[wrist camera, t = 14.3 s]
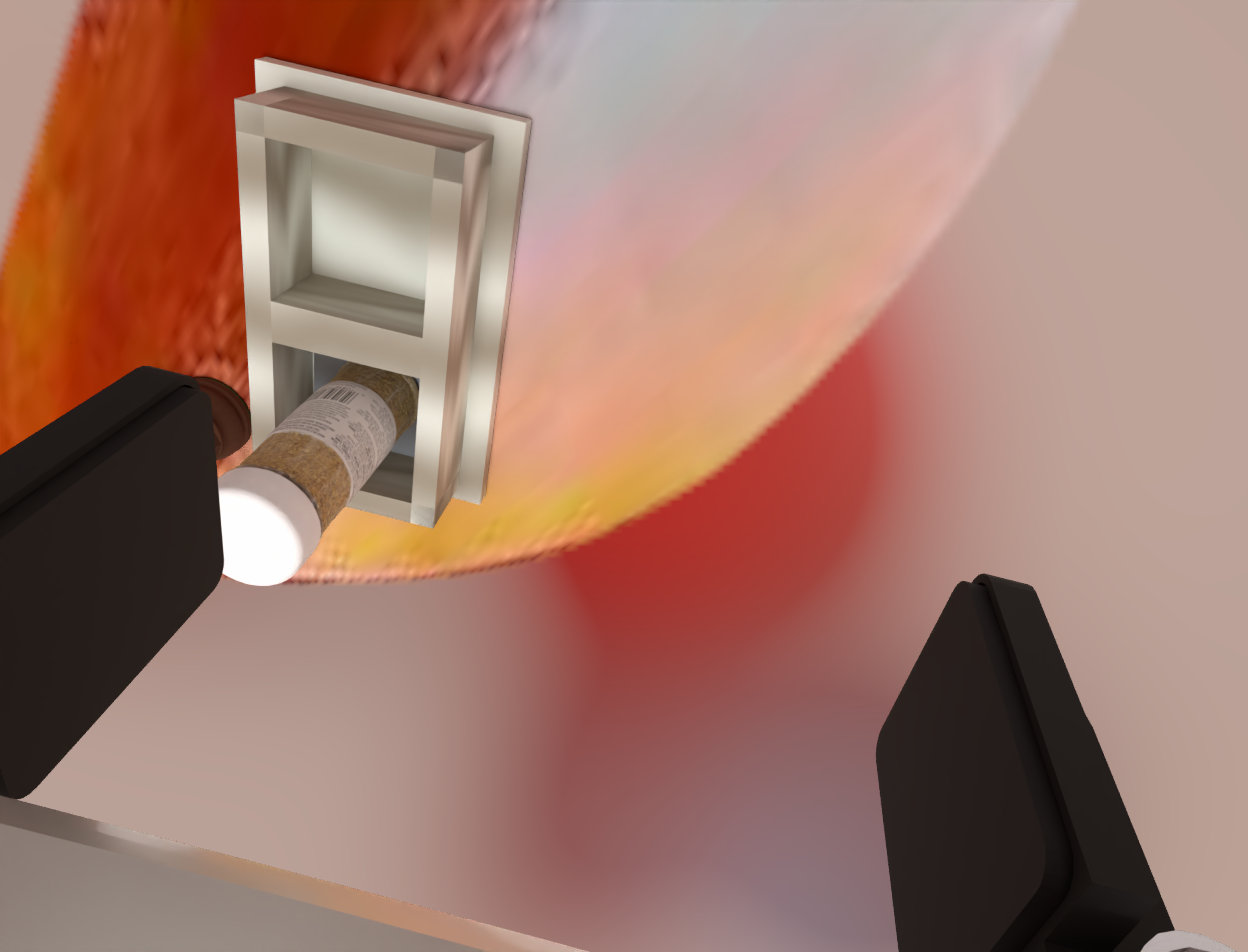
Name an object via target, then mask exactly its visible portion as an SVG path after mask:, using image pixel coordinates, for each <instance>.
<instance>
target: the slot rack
mask: <svg viewBox="0 0 1248 952" xmlns="http://www.w3.org/2000/svg"><path fill="white" fill-rule="evenodd" d="M255 79H256V93H255V94H251V95H247V96H244V97H240V98H236V99H234V103H235V122H236V141H237V160H238V178H239V197H240V216H241V235H242V254H243V273H244V292H245V311H246V330H247V349H248V368H249V387H250V406H251V425H252V444H253V452H254V451H255V450H256V449H257V448H258V447H259V446H260V444H261V442H262V441H263V440H264V439H265V438H266V437H267V436H268V435H269V434H270V433H271V432H272V431H273V430H274V429H275V428H277V427H278V426H279V425H280V424H281V423H282V422H283V421H284V420H285V419H286V418H287V417H288V416H289V415H291V414H292V413H293V412H294V411H295V410H296V409H297V408H298V407H299V406H300V405H301V404H302V403H304V402H305V401H306V400H307V399H308V398H309V397H310V396H311V395H312V394H314V393H315V392H316V391H317V390H318V389H319V388H320V387H322V386H323V385H325V384H327V383H329V382H330V381H331V380H332V379H333V378H334V377H335V376H336V375H337V374H338V372H339V370H340V368H341V367H342V366H343V365H345V364H346V363H347V362H348V361H351V362H355V363H359V364H363V365H367V366H371V367H375V368H379V369H383V370H387V371H391V372H395V373H399V374H403V375H407V376H411V377H412V378H413V379H414V381H415V383H416V385H417V387H418V390H419V399H418V414H417V418H416V420H415V422H414V423H413V425H412V426H411V427H410V428H409V429H407V430H406V431H404V432H403V433H402V435H401V436H400V437H399V438H398V440H397V441H396V442H395V444H394V445H393V448H392V449H391V451H390V452H389V453H388V455H387V456H386V457H385V458H384V460H383V461H382V462H381V463H380V465H379V466H378V467H377V468H376V470H375V471H374V472H373V473H372V475H371V476H370V477H369V479H368V480H367V481H366V482H365V484H364V485H363V486H362V487H361V489H360V490H359V491H358V492H357V494H356V495H355V496H354V497H353V499H352V500H351V501H350V502H349V504H348V505H347V506H346V507H350V508H354V509H358V510H362V511H366V512H370V513H374V514H378V515H382V516H386V517H390V518H394V519H398V520H402V521H405V522H409V523H413V524H417V525H421V526H425V527H429V528H434V526H435V525H436V523H437V521H438V520H439V518H440V516H441V515H442V513H443V511H444V510H445V508H446V506H447V505H448V503H449V502H450V500H451V498H456V499H460V500H464V501H468V502H472V503H475V504H479V505H480V504H481V502H482V500H483V498H484V497H485V494H486V486H487V478H488V470H489V462H490V454H491V446H492V438H493V429H494V421H495V413H496V405H497V397H498V389H499V381H500V373H501V365H502V357H503V348H504V340H505V332H506V324H507V316H508V308H509V300H510V292H511V284H512V276H513V267H514V259H515V251H516V243H517V235H518V227H519V219H520V211H521V203H522V195H523V187H524V178H525V170H526V162H527V154H528V146H529V138H530V130H531V122H532V119H529V118H525V117H521V116H516V115H512V114H508V113H504V112H499V111H495V110H491V109H486V108H482V107H478V106H474V105H469V104H465V103H461V102H457V101H452V100H448V99H444V98H440V97H435V96H431V95H427V94H423V93H418V92H414V91H410V90H406V89H401V88H397V87H393V86H389V85H384V84H380V83H376V82H372V81H367V80H363V79H359V78H355V77H350V76H346V75H342V74H337V73H333V72H329V71H325V70H320V69H316V68H312V67H308V66H303V65H299V64H295V63H291V62H286V61H282V60H278V59H274V58H269V57H263V58H258V59H255Z"/></svg>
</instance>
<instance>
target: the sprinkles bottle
mask: <svg viewBox="0 0 1248 952" xmlns="http://www.w3.org/2000/svg"><path fill="white" fill-rule="evenodd" d="M418 399H419V390H418V387H417V385H416V383H415V381H414V379H413V378H412V377H411V376H407V375H403V374H399V373H395V372H391V371H387V370H383V369H379V368H375V367H371V366H367V365H363V364H359V363H355V362H351V361H348V362H347V363H346V364H345V365H343V366H342V367H341V368H340V370H339V372H338V374H337V375H336V376H335V377H334V378H333V379H332V380H331V381H330V382H329V383H327V384H325V385H323V386H322V387H320V388H319V389H318V390H317V391H316V392H315V393H314V394H312V395H311V396H310V397H309V398H308V399H307V400H306V401H305V402H304V403H302V404H301V405H300V406H299V407H298V408H297V409H296V410H295V411H294V412H293V413H292V414H291V415H289V416H288V417H287V418H286V419H285V420H284V421H283V422H282V423H281V424H280V425H279V426H278V427H277V428H275V429H274V430H273V431H272V432H271V433H270V434H269V435H268V436H267V437H266V438H265V439H264V440H263V441H262V442H261V444H260V446H259V447H258V448H257V449H256V450H255V451H254V452H253V453H252V454H251V455H250V456H248V457H247V458H246V459H245V460H244V461H243V462H242V463H241V464H240V465H239V466H237V467H236V468H234V469H232V470H230V471H228V472H226V473H225V474H223V475H222V476H221V477H219V478H218V489H219V502H220V514H221V527H222V539H223V552H224V568H223V574H225V575H226V576H228V577H230V578H232V579H234V580H237V581H239V582H243V583H246V584H250V585H258V586H269V585H275V584H279V583H282V582H284V581H286V580H288V579H289V578H291V577H292V576H293V575H294V574H295V573H296V572H297V571H298V570H299V569H300V568H301V567H302V565H303V564H304V563H305V562H306V561H307V559H308V558H309V557H310V556H311V554H312V553H313V552H314V551H315V549H316V548H317V546H318V543H319V540H320V538H321V537H322V534H323V532H324V531H325V529H326V528H327V527H328V526H329V524H330V523H331V521H332V520H334V518H335V517H336V516H337V515H338V513H339V512H340V511H341V510H342V509H343V508H344V507H346V506H347V505H348V504H349V502H350V501H351V500H352V499H353V497H354V496H355V495H356V494H357V492H358V491H359V490H360V489H361V487H362V486H363V485H364V484H365V482H366V481H367V480H368V479H369V477H370V476H371V475H372V473H373V472H374V471H375V470H376V468H377V467H378V466H379V465H380V463H381V462H382V461H383V460H384V458H385V457H386V456H387V455H388V453H389V452H390V451H391V449H392V448H393V445H394V444H395V442H396V441H397V440H398V438H399V437H400V436H401V435H402V433H403V432H404V431H406V430H407V429H409V428H410V427H411V426H412V425H413V423H414V422H415V420H416V418H417V414H418Z"/></svg>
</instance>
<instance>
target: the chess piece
mask: <svg viewBox="0 0 1248 952" xmlns="http://www.w3.org/2000/svg"><path fill="white" fill-rule="evenodd" d="M194 379H195V380H196V381H197V383H198V384H199V386H200V390H201V391H203V392H205V393H207V394H208V395H209V397H210V399H211V404H212V415H213V427H214V440H215V452H216V460H219V459H223V458H226V457H228V456H230V455H231V454H233V453H234V452H235V451H237V450H239V449H240V448H241V447H242V446H244V445H245V443H246V442H247V441H248V439H249V437H250V434H251V428H252V425H251V416H250V413H249V411H248V408H247V406H246V405H245V403H244V402H243V400H242V399H241V398H240V397H239V396H238V394H237V393H235V392H234V391H233V390H232V389H231V388H229V387H228V386H226V385H224V384H223V383H221V382H218V381H216V380H213V379H209V378H194Z"/></svg>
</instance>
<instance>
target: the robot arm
mask: <svg viewBox="0 0 1248 952" xmlns="http://www.w3.org/2000/svg"><path fill="white" fill-rule="evenodd" d="M223 568H224V552H223V539H222V527H221V514H220V502H219V489H218V477H217V465H216V452H215V440H214V427H213V415H212V404H211V399H210V397H209V395H208V394H207V393H205V392H203V391H201V390H200V386H199V384H198V383H197V381H196V380H195V379H194V378H192V377H191V376H187V375H183V374H179V373H175V372H171V371H167V370H163V369H159V368H155V367H151V366H141V367H139V368H137V369H135V370H133V371H132V372H130V373H129V374H127V375H125V376H124V377H122V378H121V379H119V380H118V381H116V382H114V383H113V384H111V385H110V386H108V387H107V388H105V389H103V390H102V391H100V392H99V393H97V394H96V395H94V396H92V397H91V398H89V399H88V400H86V401H85V402H83V403H81V404H80V405H78V406H77V407H75V408H74V409H72V410H70V411H69V412H67V413H66V414H64V415H63V416H61V417H59V418H58V419H56V420H55V421H53V422H52V423H50V424H49V425H47V426H45V427H44V428H42V429H41V430H39V431H38V432H36V433H34V434H33V435H31V436H30V437H28V438H27V439H25V440H23V441H22V442H20V443H19V444H17V445H16V446H14V447H12V448H11V449H9V450H8V451H6V452H5V453H3V454H1V455H0V952H588V951H585V950H581V949H577V948H574V947H570V946H566V945H563V944H559V943H555V942H552V941H548V940H544V939H541V938H537V937H533V936H529V935H526V934H522V933H518V932H515V931H511V930H507V929H503V928H500V927H495V926H492V925H488V924H485V923H481V922H477V921H474V920H470V919H466V918H462V917H459V916H455V915H451V914H447V913H444V912H440V911H436V910H432V909H429V908H425V907H421V906H417V905H414V904H410V903H406V902H402V901H399V900H395V899H391V898H387V897H384V896H380V895H376V894H372V893H369V892H365V891H361V890H358V889H354V888H350V887H346V886H343V885H339V884H335V883H331V882H328V881H324V880H320V879H316V878H312V877H308V876H305V875H301V874H297V873H293V872H290V871H286V870H282V869H278V868H275V867H271V866H267V865H263V864H260V863H256V862H252V861H249V860H245V859H241V858H237V857H233V856H230V855H225V854H222V853H218V852H214V851H210V850H207V849H203V848H199V847H195V846H191V845H187V844H184V843H179V842H176V841H172V840H168V839H164V838H161V837H157V836H153V835H149V834H145V833H142V832H138V831H134V830H130V829H126V828H122V827H119V826H115V825H111V824H107V823H103V822H99V821H96V820H92V819H87V818H84V817H80V816H76V815H72V814H69V813H65V812H61V811H57V810H53V809H50V808H46V807H42V806H38V805H34V804H30V803H27V802H22V801H19V800H17V799H21V798H24V797H25V796H27V795H29V794H30V793H31V792H32V791H33V790H34V789H35V788H36V787H37V786H38V785H39V784H40V783H41V782H42V781H43V780H44V779H45V778H46V776H47V775H48V774H49V773H50V772H51V771H52V770H53V768H55V766H56V765H57V764H58V763H59V762H60V761H61V760H62V759H63V757H64V756H65V755H66V754H67V753H68V752H69V751H70V750H71V749H72V747H73V746H74V745H75V744H76V743H77V742H78V741H79V740H80V738H81V737H82V736H83V735H84V734H85V733H86V732H87V731H88V730H89V728H90V727H91V726H92V725H93V724H94V723H95V722H96V721H97V719H98V718H99V717H100V716H101V715H102V714H103V713H104V712H105V711H106V710H107V708H108V707H109V706H110V705H111V704H112V703H113V702H114V700H115V699H116V698H117V697H118V696H119V695H120V694H121V693H122V692H123V691H124V689H125V688H126V687H127V686H128V685H129V684H130V683H131V682H132V680H133V679H134V678H135V677H136V676H137V675H138V674H139V673H140V672H141V671H142V669H143V668H144V667H145V666H146V665H147V664H148V663H149V662H150V660H151V659H152V658H153V657H154V656H155V655H156V654H157V653H158V652H159V650H160V649H161V648H162V647H163V646H164V645H165V644H166V643H167V642H168V640H169V639H170V638H171V637H172V636H173V635H174V634H175V633H176V631H177V630H178V629H179V628H180V627H181V626H182V625H183V624H184V623H185V621H186V620H187V619H188V618H189V617H190V616H191V615H192V614H193V613H194V611H195V610H196V609H197V608H198V607H199V606H200V604H202V602H203V601H204V600H205V599H206V598H207V597H208V596H209V595H210V594H211V592H212V591H213V590H214V589H215V587H216V586H217V584H218V582H219V581H220V578H221V576H222V573H223ZM876 763H877V771H878V780H879V789H880V797H881V806H882V814H883V822H884V831H885V839H886V848H887V856H888V865H889V873H890V881H891V890H892V898H893V906H894V916H895V924H896V932H897V941H898V949H899V952H1236V951H1234V950H1233V949H1231V948H1230V947H1228V946H1226V945H1224V944H1222V943H1219V942H1217V941H1215V940H1213V939H1210V938H1208V937H1206V936H1204V935H1201V934H1196V933H1190V932H1185V931H1180V930H1175V929H1174V927H1173V924H1172V922H1171V920H1170V917H1169V915H1168V912H1167V910H1166V907H1165V905H1164V902H1163V900H1162V898H1161V895H1160V892H1159V890H1158V887H1157V885H1156V882H1155V880H1154V877H1153V875H1152V873H1151V870H1150V868H1149V865H1148V863H1147V860H1146V858H1145V855H1144V853H1143V850H1142V848H1141V845H1140V843H1139V840H1138V838H1137V835H1136V833H1135V830H1134V828H1133V826H1132V823H1131V821H1130V818H1129V816H1128V813H1127V811H1126V808H1125V806H1124V803H1123V801H1122V798H1121V796H1120V793H1119V791H1118V789H1117V786H1116V784H1115V781H1114V779H1113V776H1112V774H1111V771H1110V769H1109V767H1108V764H1107V761H1106V759H1105V757H1104V754H1103V751H1102V749H1101V747H1100V744H1099V742H1098V739H1097V737H1096V734H1095V732H1094V729H1093V727H1092V725H1091V724H1090V722H1089V720H1088V718H1087V717H1086V715H1085V713H1084V710H1083V708H1082V706H1081V703H1080V700H1079V698H1078V695H1077V693H1076V691H1075V688H1074V685H1073V683H1072V680H1071V678H1070V675H1069V673H1068V670H1067V668H1066V665H1065V663H1064V660H1063V658H1062V655H1061V653H1060V650H1059V648H1058V645H1057V643H1056V641H1055V638H1054V636H1053V633H1052V631H1051V628H1050V626H1049V623H1048V621H1047V618H1046V616H1045V613H1044V611H1043V608H1042V606H1041V603H1040V601H1039V598H1038V596H1037V593H1036V591H1035V590H1034V588H1033V587H1032V586H1030V585H1028V584H1024V583H1020V582H1016V581H1012V580H1007V579H1004V578H1000V577H996V576H992V575H988V574H980V575H978V576H977V577H976V578H975V579H974V580H973V582H972V583H970V582H966V581H962V582H960V583H959V584H957V586H956V587H955V589H954V591H953V592H952V594H951V596H950V598H949V600H948V602H947V604H946V606H945V608H944V610H943V611H942V613H941V615H940V617H939V619H938V621H937V623H936V625H935V627H934V629H933V631H932V633H931V634H930V637H929V638H928V640H927V642H926V644H925V646H924V648H923V650H922V652H921V654H920V656H919V658H918V660H917V661H916V663H915V665H914V667H913V669H912V671H911V673H910V675H909V677H908V679H907V681H906V683H905V684H904V686H903V688H902V690H901V692H900V694H899V696H898V698H897V700H896V702H895V704H894V706H893V708H892V710H891V711H890V713H889V715H888V717H887V719H886V721H885V723H884V725H883V727H882V729H881V731H880V734H879V737H878V741H877V747H876ZM15 799H16V800H15Z"/></svg>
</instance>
